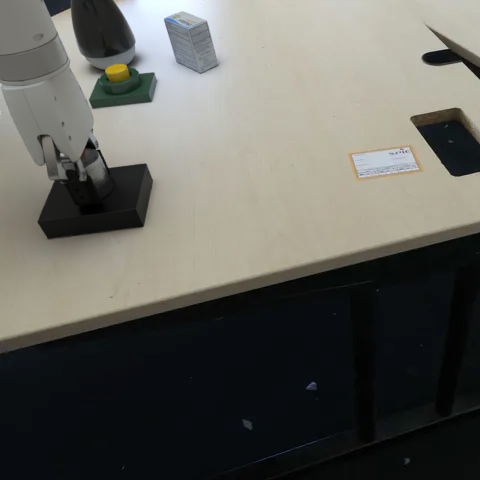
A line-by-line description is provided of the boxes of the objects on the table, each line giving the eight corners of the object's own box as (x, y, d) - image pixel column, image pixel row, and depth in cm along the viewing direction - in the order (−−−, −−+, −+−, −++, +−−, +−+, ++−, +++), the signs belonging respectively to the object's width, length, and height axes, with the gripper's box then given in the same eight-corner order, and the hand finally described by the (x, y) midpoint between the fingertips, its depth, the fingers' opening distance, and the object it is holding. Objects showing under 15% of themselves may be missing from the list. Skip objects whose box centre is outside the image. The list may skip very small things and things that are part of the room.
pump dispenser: (121, 79, 99) (88, -6, 88) (76, 72, 101) (39, -11, 91) (153, 55, 106) (126, -26, 95) (110, 49, 108) (79, -30, 98)
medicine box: (219, 65, 101) (208, 19, 95) (200, 74, 99) (187, 28, 93) (194, 54, 105) (182, 9, 99) (175, 62, 103) (162, 17, 97)
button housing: (92, 109, 91) (84, 90, 89) (101, 86, 97) (93, 68, 95) (151, 102, 92) (145, 83, 90) (157, 80, 98) (151, 62, 95)
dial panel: (47, 239, 68) (36, 221, 66) (66, 190, 75) (57, 173, 73) (143, 226, 69) (135, 209, 67) (153, 180, 76) (146, 163, 74)
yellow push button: (107, 84, 91) (103, 74, 90) (110, 74, 94) (107, 65, 92) (128, 81, 91) (125, 72, 90) (131, 72, 94) (128, 62, 93)
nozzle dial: (109, 199, 68) (93, 166, 65) (71, 204, 68) (53, 170, 64) (116, 177, 72) (101, 144, 68) (79, 181, 71) (62, 148, 68)
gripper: (16, 28, 63) (80, 156, 75) (-40, 100, 51) (46, 237, 63) (82, 22, 63) (133, 149, 76) (41, 91, 51) (111, 229, 64)
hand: (93, 188), depth 70 cm, fingers closed on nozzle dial, 4 cm apart
